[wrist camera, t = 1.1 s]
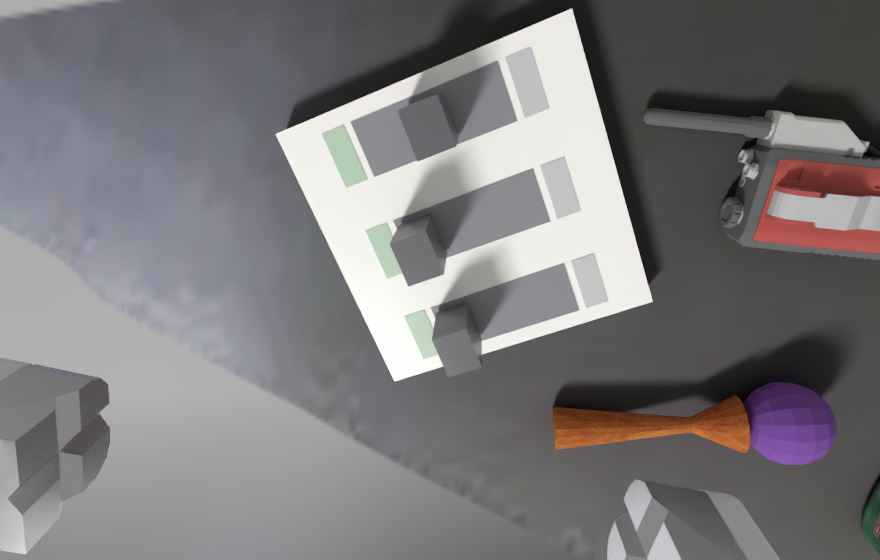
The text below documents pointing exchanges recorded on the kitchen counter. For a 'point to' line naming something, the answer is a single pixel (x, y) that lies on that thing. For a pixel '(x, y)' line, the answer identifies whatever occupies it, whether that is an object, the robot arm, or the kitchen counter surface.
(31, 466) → the robot arm
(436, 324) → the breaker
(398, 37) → the kitchen counter surface
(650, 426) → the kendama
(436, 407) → the kitchen counter surface
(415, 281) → the block
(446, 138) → the block
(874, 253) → the walkie-talkie
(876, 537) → the coffee jar
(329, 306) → the kitchen counter surface
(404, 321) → the breaker panel
